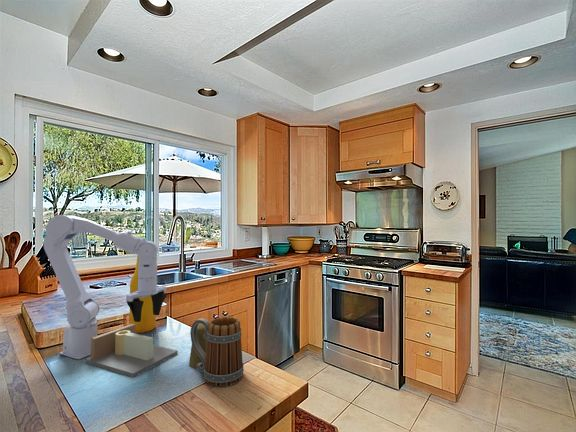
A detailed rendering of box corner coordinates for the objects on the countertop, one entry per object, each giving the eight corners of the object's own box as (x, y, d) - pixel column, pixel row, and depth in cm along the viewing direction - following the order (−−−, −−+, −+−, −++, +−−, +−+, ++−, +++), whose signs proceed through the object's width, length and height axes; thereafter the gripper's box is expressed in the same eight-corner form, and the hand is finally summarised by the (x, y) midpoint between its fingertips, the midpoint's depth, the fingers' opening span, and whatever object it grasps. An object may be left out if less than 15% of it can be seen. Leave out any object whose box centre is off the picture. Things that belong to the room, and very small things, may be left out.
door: (112, 353, 94) (112, 333, 94) (124, 348, 98) (124, 329, 98) (144, 362, 88) (144, 341, 88) (155, 356, 92) (156, 336, 92)
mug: (250, 371, 85) (250, 317, 85) (231, 391, 75) (231, 330, 75) (202, 362, 90) (203, 311, 90) (179, 380, 80) (179, 323, 81)
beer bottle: (159, 328, 118) (160, 254, 119) (135, 335, 111) (136, 256, 112) (149, 323, 124) (150, 252, 125) (125, 329, 118) (126, 254, 118)
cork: (204, 368, 86) (204, 329, 87) (184, 366, 88) (185, 328, 88) (213, 359, 92) (213, 323, 93) (195, 357, 94) (195, 321, 94)
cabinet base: (85, 362, 90) (86, 338, 90) (133, 343, 104) (133, 322, 105) (133, 377, 82) (133, 351, 82) (177, 353, 96) (177, 331, 96)
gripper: (137, 282, 94) (136, 326, 94) (173, 274, 107) (172, 313, 107) (121, 280, 97) (121, 323, 97) (158, 273, 110) (157, 311, 110)
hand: (147, 318), depth 102 cm, fingers open, 7 cm apart
